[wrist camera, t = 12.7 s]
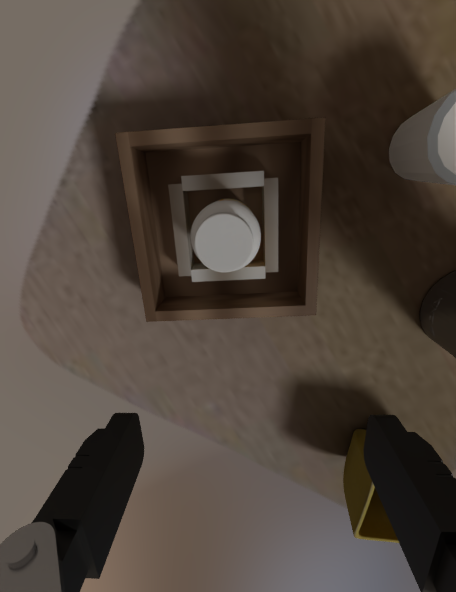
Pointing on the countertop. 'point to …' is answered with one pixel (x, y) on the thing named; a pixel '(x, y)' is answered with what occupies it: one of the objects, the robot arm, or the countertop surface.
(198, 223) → the supplement bottle
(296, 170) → the walled box
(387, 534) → the flower pot
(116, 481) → the robot arm
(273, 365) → the countertop surface
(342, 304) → the countertop surface
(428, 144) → the white cup
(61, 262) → the countertop surface
